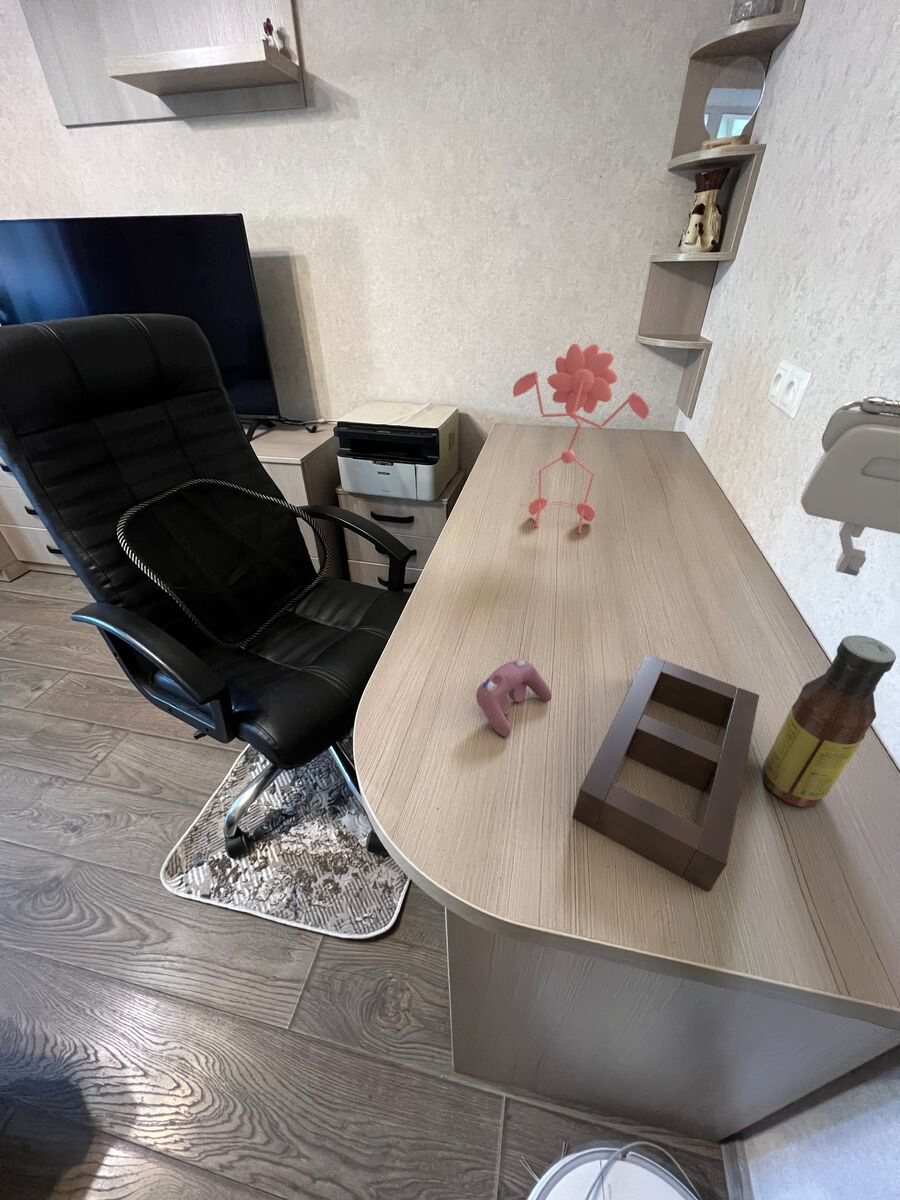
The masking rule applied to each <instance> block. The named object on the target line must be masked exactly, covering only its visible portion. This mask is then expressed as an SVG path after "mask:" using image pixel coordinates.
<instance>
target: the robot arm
mask: <svg viewBox="0 0 900 1200" xmlns="http://www.w3.org/2000/svg"><path fill="white" fill-rule="evenodd" d="M858 407H859V409H858V410H856V409H853V408H858ZM821 437H822V438H821V447H822V449H823V450H824V452H823V453H822V455H821V456H820V457H819V459H818V461H817V462H816V464H815V466H814V467H813V469H812V471H811V473H810V475H809V477H808V479H807V480H806V482H805V484H804V487H803V489H802V492H801V495H800V504H801V506H802V508H803V511H804V512H805V514H807V515H808V516H812V517H817V518H821V519H827V520H831V521H836V522H839V524H838V535H839V540H840V544H841V549H842V552H841V553H840V555H839V557H838V559H837V562H836V564H835V572H838V573H841V574H845V575H849V576H854V577H857V576H858V575H859V573H860V569H861V568H862V567H864V564H865V563H866V561H867V556H866V551H865V550H862V549H859V548H855V545H854V539H853V538H856V539H859V538H860V537H861V536H862V534H863V532H864V530H865V529H866V528H870V529H874V530H877V531H882V532H887V533H893V534H897V535H900V400H896V399H889V398H887V397H884V396H873V395H872V396H864V398H863V399H862V400H855V401H852V402H848V403H846V404H844V405H842V406H840V407H839V408H838V409H837V410H835V411H834V412H833V413H832V415H831V416H830V418H829V420H828V422H827V425H826V426H825V429H824V432H823V434H822V436H821Z"/></svg>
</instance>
